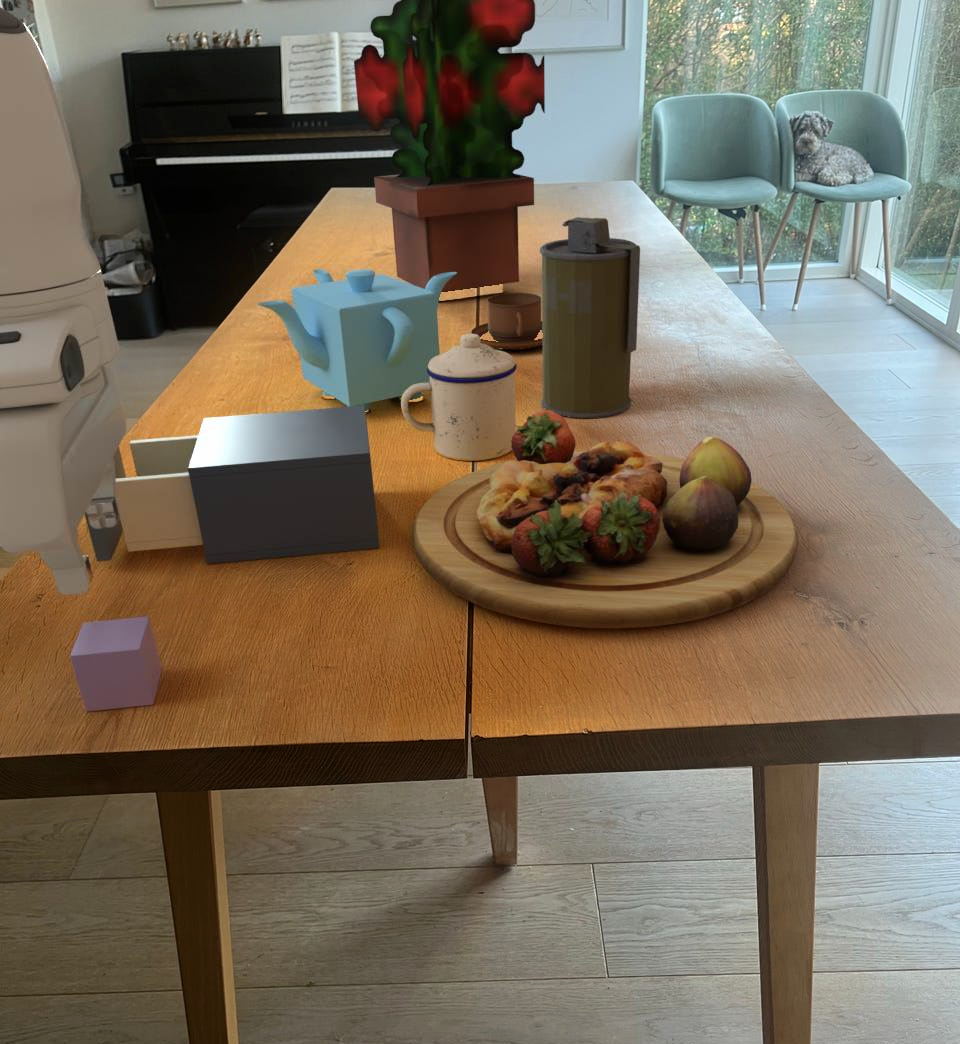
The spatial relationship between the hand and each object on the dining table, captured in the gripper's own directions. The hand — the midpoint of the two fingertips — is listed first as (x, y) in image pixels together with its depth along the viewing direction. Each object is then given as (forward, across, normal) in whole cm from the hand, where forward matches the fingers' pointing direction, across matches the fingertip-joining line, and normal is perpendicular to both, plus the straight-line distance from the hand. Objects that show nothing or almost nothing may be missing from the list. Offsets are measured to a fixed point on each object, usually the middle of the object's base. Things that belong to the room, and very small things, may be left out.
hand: (93, 554), depth 64 cm
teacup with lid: (+11, -41, +28) cm, 51 cm away
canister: (+11, -52, +44) cm, 69 cm away
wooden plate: (+11, -16, +37) cm, 41 cm away
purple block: (+10, 0, 0) cm, 10 cm away
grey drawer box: (+10, -25, +11) cm, 29 cm away
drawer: (+9, -25, -1) cm, 27 cm away
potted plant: (+11, -116, +36) cm, 122 cm away
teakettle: (+11, -62, +19) cm, 66 cm away
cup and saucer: (+11, -80, +40) cm, 90 cm away
